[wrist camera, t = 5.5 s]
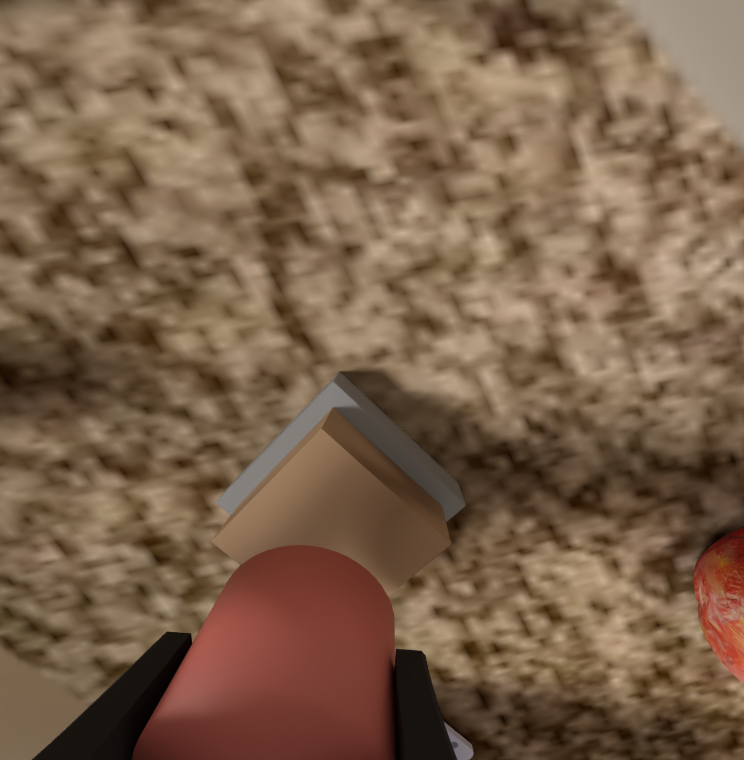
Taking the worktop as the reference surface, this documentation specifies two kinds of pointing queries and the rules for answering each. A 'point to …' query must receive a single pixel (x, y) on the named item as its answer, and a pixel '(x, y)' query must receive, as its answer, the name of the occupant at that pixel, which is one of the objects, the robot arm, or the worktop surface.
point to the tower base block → (371, 426)
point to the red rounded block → (285, 667)
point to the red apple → (723, 599)
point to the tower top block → (340, 507)
